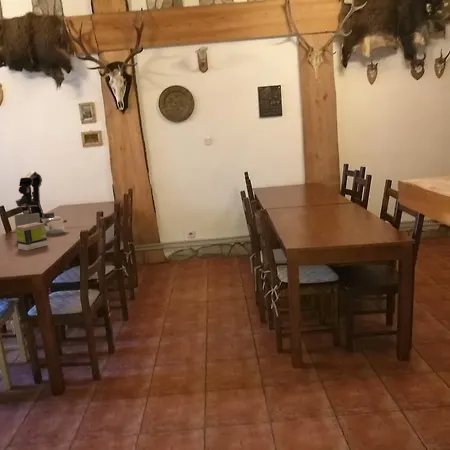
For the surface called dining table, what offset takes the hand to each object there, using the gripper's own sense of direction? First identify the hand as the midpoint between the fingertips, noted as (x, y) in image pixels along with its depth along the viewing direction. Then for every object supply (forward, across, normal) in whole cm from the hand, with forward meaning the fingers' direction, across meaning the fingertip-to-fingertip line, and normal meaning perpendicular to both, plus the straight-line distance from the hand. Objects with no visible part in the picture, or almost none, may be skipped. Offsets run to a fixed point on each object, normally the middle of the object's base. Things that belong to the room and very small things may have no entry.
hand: (28, 216), depth 375 cm
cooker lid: (+3, +8, +12) cm, 15 cm away
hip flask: (+16, +16, -10) cm, 25 cm away
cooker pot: (+13, +12, +12) cm, 22 cm away
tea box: (+20, +39, -22) cm, 49 cm away
